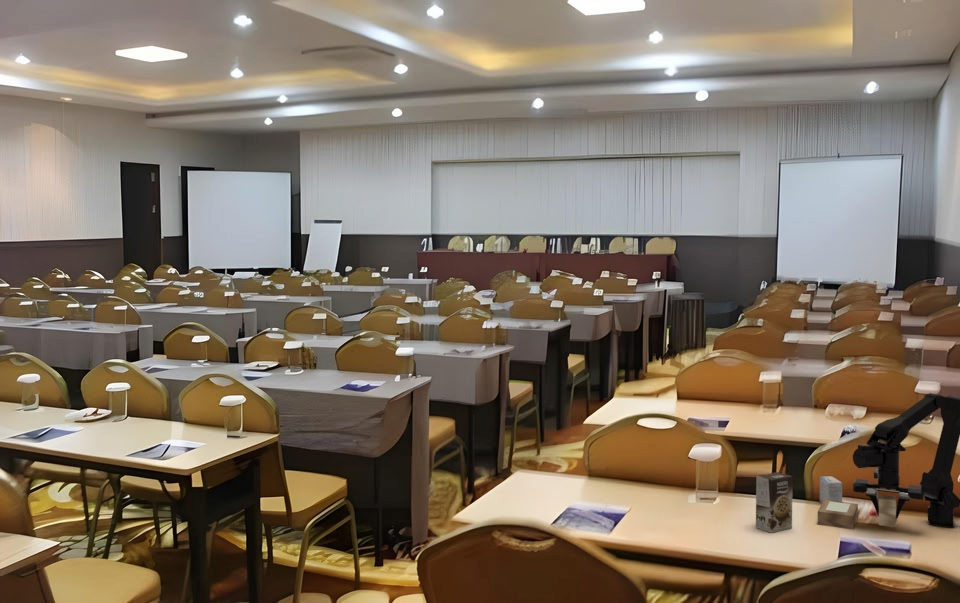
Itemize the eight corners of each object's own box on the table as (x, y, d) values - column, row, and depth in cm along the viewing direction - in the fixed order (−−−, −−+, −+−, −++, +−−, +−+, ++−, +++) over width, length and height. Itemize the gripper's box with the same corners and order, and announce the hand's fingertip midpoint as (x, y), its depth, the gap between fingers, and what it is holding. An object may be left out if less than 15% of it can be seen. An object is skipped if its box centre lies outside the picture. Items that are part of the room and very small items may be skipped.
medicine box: (842, 508, 266) (842, 482, 266) (828, 508, 266) (828, 482, 266) (832, 501, 274) (832, 476, 273) (819, 501, 274) (819, 476, 274)
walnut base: (857, 516, 258) (857, 503, 257) (853, 529, 246) (853, 515, 245) (823, 511, 263) (823, 498, 262) (817, 524, 251) (817, 510, 250)
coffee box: (771, 533, 242) (771, 479, 242) (754, 527, 248) (755, 474, 247) (793, 528, 247) (793, 475, 246) (776, 522, 252) (776, 471, 252)
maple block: (896, 523, 246) (896, 496, 246) (895, 527, 242) (895, 500, 242) (879, 520, 248) (880, 494, 248) (878, 525, 244) (879, 498, 244)
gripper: (924, 463, 247) (923, 514, 248) (856, 456, 256) (856, 505, 257) (923, 471, 237) (922, 524, 238) (853, 464, 246) (852, 515, 247)
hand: (887, 517), depth 245 cm, fingers closed on maple block, 4 cm apart
